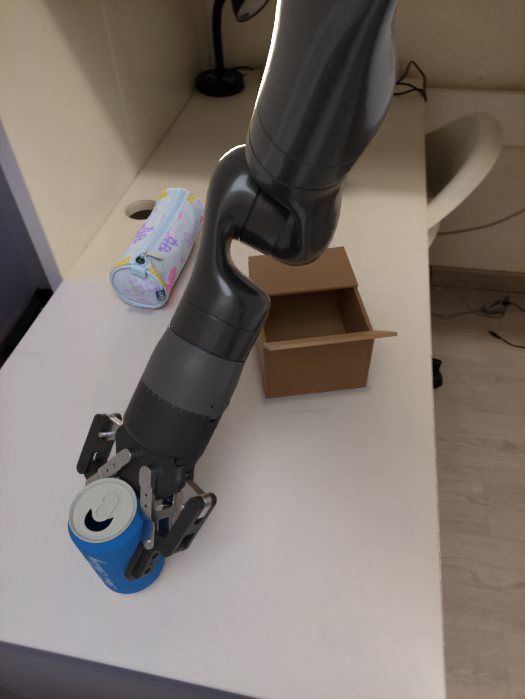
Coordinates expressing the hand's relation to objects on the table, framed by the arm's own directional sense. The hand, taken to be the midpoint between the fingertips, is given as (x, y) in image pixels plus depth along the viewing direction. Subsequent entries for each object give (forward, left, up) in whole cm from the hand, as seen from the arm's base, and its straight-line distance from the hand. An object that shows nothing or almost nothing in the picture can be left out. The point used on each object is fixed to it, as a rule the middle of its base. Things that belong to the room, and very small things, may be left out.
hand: (108, 549), depth 48 cm
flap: (+17, -23, +6) cm, 29 cm away
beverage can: (+1, -1, -6) cm, 6 cm away
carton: (+28, -23, -7) cm, 37 cm away
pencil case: (+48, -4, -7) cm, 49 cm away
